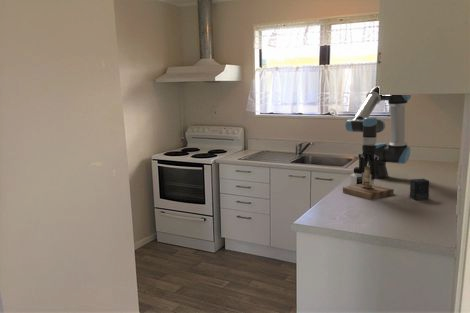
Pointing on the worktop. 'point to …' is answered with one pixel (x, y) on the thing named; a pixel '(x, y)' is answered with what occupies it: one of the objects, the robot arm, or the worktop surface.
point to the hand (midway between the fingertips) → (367, 184)
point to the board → (368, 191)
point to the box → (419, 189)
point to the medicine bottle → (356, 177)
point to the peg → (367, 177)
